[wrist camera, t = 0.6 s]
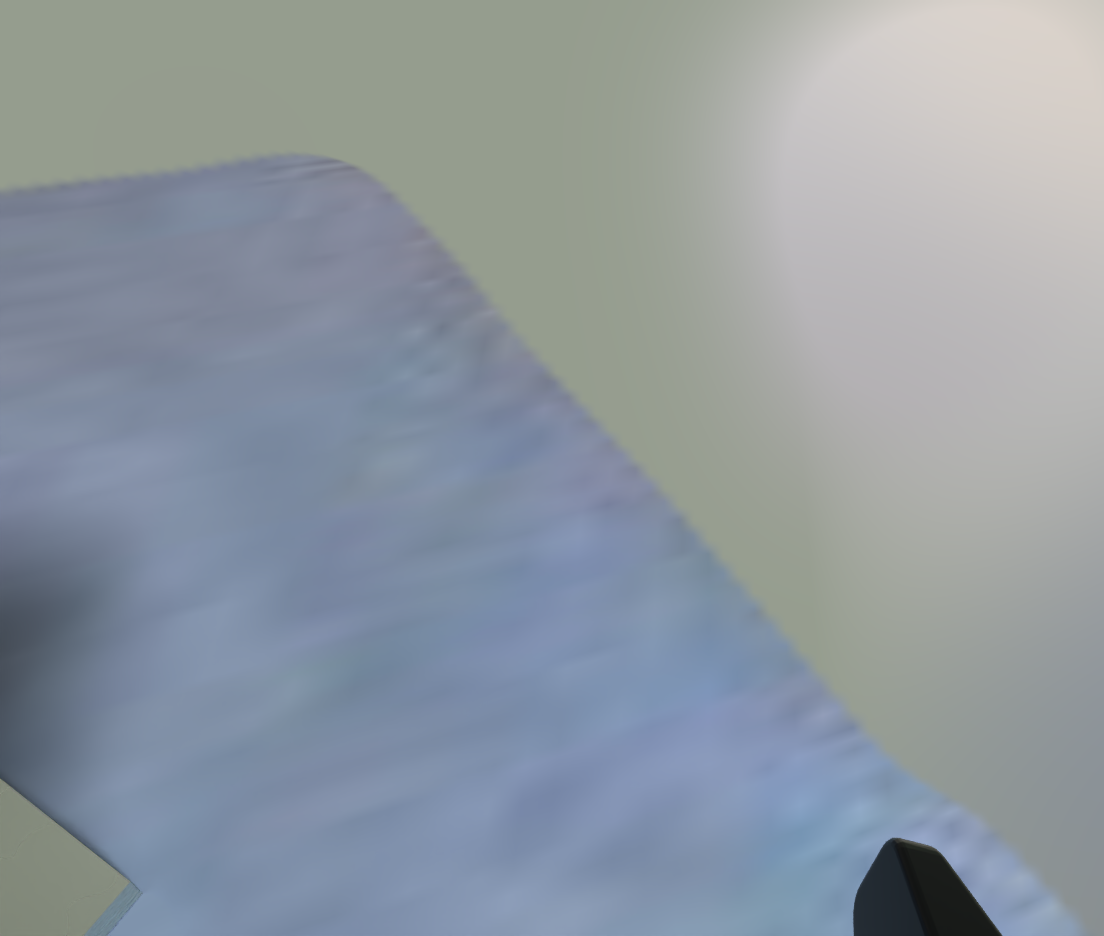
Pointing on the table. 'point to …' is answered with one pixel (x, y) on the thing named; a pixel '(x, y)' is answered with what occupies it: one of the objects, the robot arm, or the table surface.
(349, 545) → the table surface
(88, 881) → the aluminium plate
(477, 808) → the table surface
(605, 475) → the table surface
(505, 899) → the table surface
